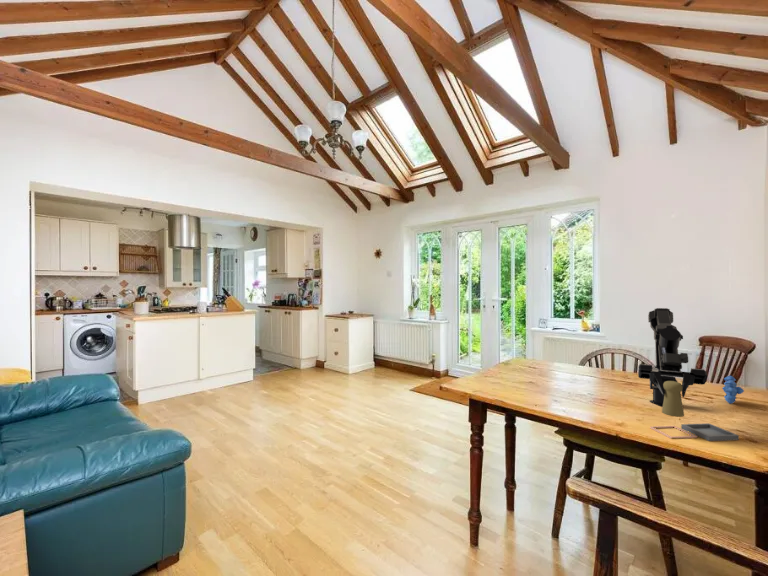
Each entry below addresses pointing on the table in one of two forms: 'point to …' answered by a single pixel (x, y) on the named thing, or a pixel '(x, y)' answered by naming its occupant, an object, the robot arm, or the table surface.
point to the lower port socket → (710, 432)
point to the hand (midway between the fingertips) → (673, 395)
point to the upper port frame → (673, 436)
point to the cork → (672, 399)
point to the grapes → (731, 389)
